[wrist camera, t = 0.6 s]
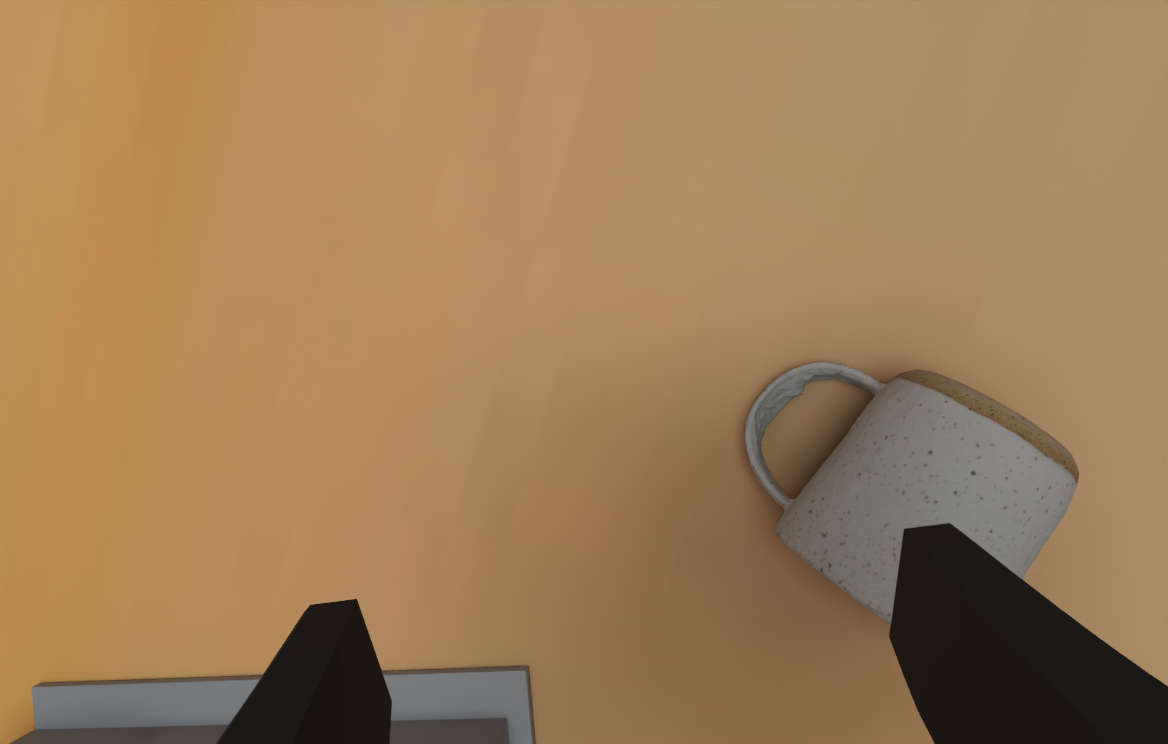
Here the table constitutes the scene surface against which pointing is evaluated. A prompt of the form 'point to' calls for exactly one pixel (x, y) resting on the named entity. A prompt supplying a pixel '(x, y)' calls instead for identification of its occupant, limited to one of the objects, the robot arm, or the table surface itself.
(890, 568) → the ceramic mug
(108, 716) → the grey slotted fixture
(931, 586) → the robot arm
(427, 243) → the table surface
